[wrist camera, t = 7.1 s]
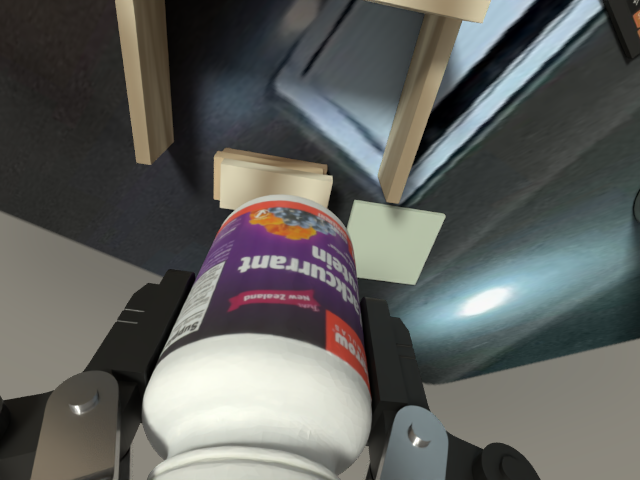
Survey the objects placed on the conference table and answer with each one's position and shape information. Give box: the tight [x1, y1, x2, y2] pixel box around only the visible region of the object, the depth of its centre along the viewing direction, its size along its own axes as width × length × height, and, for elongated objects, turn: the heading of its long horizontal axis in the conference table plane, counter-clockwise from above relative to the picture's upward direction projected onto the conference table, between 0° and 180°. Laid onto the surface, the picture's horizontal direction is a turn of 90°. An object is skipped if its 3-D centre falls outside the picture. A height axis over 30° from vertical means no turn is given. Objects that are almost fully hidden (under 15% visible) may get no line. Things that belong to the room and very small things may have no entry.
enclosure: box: [115, 0, 491, 204], centre depth 23 cm, size 20×14×8 cm
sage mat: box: [347, 200, 446, 285], centre depth 36 cm, size 9×9×1 cm
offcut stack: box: [214, 148, 333, 210], centre depth 30 cm, size 10×4×4 cm, turn 80°
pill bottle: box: [141, 194, 372, 480], centre depth 10 cm, size 5×5×10 cm
